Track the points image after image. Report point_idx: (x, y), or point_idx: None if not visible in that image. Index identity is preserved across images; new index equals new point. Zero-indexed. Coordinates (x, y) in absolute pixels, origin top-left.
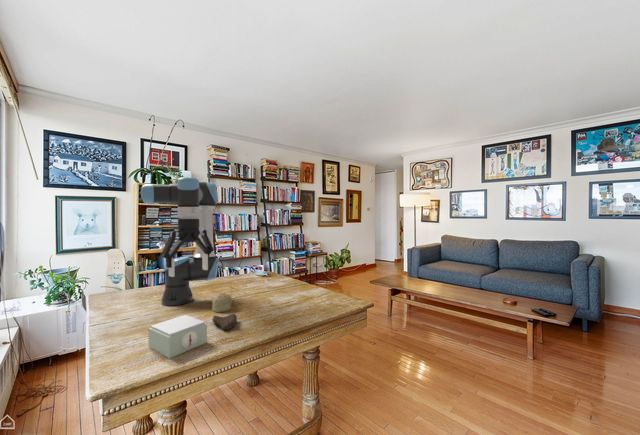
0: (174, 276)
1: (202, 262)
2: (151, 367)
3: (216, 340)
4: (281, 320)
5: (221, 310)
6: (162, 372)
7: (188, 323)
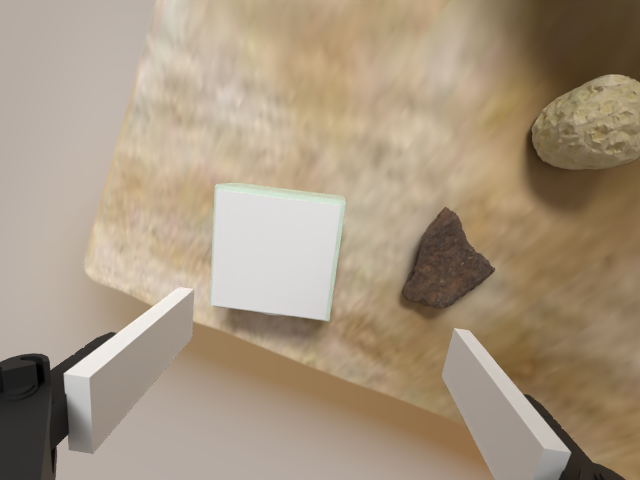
0: (190, 338)
1: (481, 367)
2: (187, 283)
3: (348, 310)
4: (539, 383)
5: (543, 156)
6: None
7: (290, 285)
